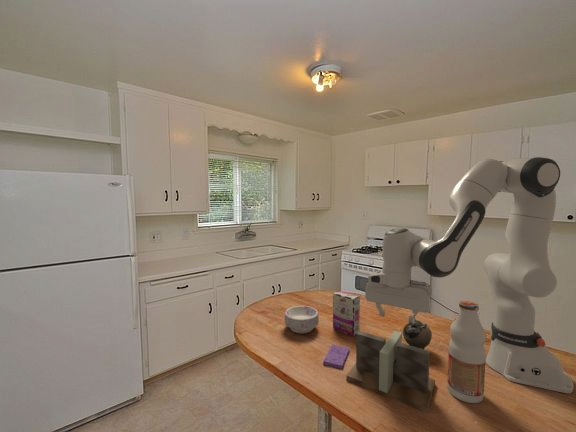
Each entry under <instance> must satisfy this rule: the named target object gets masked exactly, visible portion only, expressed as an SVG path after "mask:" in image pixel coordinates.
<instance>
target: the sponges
mask: <svg viewBox="0 0 576 432" xmlns="http://www.w3.org/2000/svg"><path fill="white" fill-rule="evenodd" d="M349 353H350V347H349V346H348V347H347V346H341V345H335V344H331V345H330V347H329V350H328V352H327V353H326V356H325V357H324V359H323V361H322V362H323V363H322V364H323V365H324V366H328V367H332V368H338V369H343V367H344V366H345V365H344V364H345V362H346V360H347V358H348V355H349Z"/></svg>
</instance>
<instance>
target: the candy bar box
mask: <svg viewBox="0 0 576 432" xmlns="http://www.w3.org/2000/svg"><path fill="white" fill-rule="evenodd" d="M360 302H361V301H360V295H355V294H353V293H349V292H345V291H341V290H338V291H336V292H335V291H334V292H332V328H333V329H335V330H337V331H339V332H341V333H344V334H347V335H349V336H351V337H355V336H357V333H358V332H359V331H360V309H361V307H360V305H361V304H360Z"/></svg>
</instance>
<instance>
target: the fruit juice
mask: <svg viewBox="0 0 576 432" xmlns="http://www.w3.org/2000/svg"><path fill="white" fill-rule="evenodd" d="M458 304H459V305H458V308H459V312H458V315H457V316H456V319H455V320H454V321H453V322H451V324H450V327H449V332H450V333H449V334H450V337H451V339H450V341H449V343H448V357H447V358H448V360H447V361H448V362H447V379H446V381H447V382H446V383H447V390H448V391H449V393H450V394H451V395H452V396H453V397H455V398H456V399H457V400H460V401H462V402H464V403H467V404H478V403H481V402H482V401H483V400H484V396H485V378H486V357H487V355H486V349H485V347H484V346H485V343H486V340H487V333H486V331H485V330H486V329H484V327H483V326H482V324H481V321H480V318H479V314H478V312H479V309H480V308H479V304H478V303H476V302H475V301H474V302H473V301H470V300H469V301H468V300H461V301H459V303H458Z"/></svg>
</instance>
